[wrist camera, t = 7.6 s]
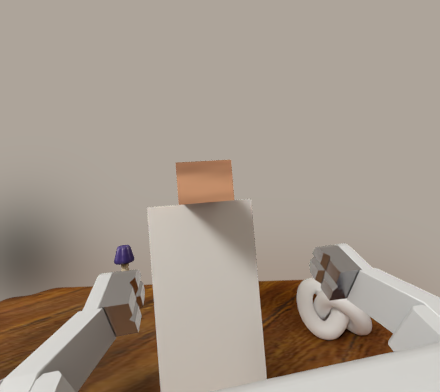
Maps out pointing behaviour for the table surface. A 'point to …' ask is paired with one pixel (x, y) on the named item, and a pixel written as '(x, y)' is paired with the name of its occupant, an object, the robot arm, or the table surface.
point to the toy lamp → (124, 257)
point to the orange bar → (204, 181)
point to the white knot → (329, 313)
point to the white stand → (206, 296)
